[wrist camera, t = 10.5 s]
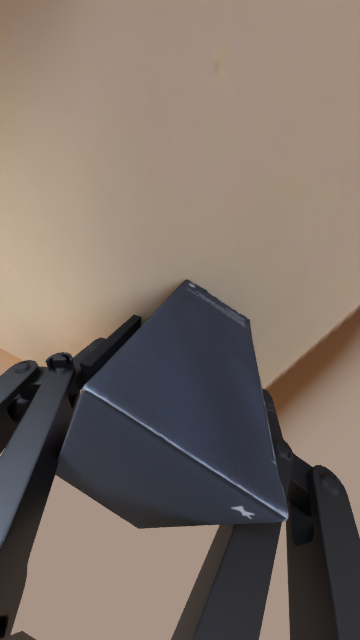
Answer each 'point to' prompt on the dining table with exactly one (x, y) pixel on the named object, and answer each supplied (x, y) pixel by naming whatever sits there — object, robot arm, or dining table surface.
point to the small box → (178, 423)
